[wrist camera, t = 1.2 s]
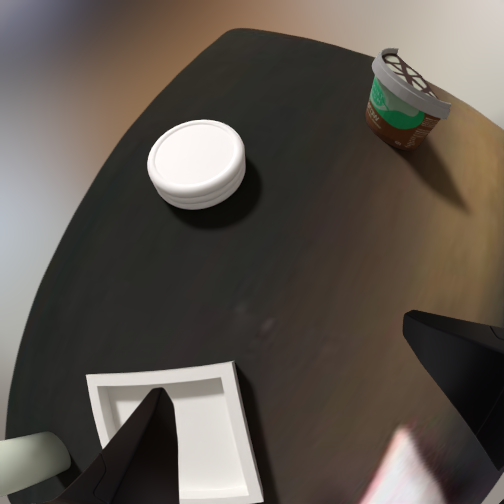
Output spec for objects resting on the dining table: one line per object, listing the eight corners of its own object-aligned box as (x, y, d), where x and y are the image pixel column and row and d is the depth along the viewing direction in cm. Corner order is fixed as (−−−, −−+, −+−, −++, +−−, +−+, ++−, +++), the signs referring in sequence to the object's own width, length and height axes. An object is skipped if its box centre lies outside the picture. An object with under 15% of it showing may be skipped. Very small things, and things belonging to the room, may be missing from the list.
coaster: (147, 159, 30) (137, 140, 26) (224, 128, 31) (221, 107, 28) (170, 227, 26) (160, 210, 23) (261, 188, 28) (262, 167, 25)
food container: (342, 97, 33) (357, 41, 24) (376, 97, 33) (395, 46, 24) (383, 163, 29) (416, 103, 19) (419, 159, 29) (454, 107, 20)
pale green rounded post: (76, 474, 17) (6, 505, 6) (46, 465, 16) (-22, 487, 5) (63, 434, 18) (-16, 454, 7) (35, 428, 18) (-40, 439, 7)
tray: (262, 488, 18) (263, 501, 15) (131, 491, 17) (121, 501, 14) (234, 360, 22) (231, 362, 19) (100, 373, 21) (86, 374, 19)
